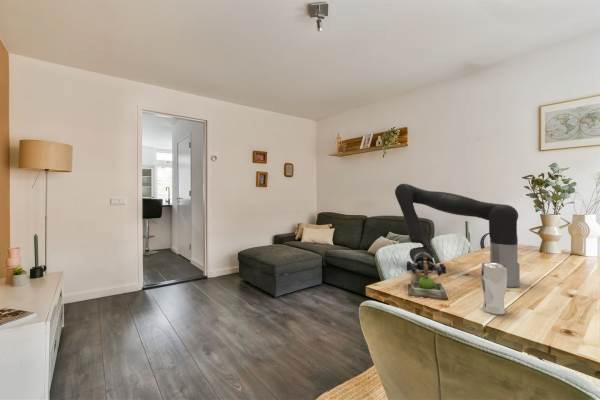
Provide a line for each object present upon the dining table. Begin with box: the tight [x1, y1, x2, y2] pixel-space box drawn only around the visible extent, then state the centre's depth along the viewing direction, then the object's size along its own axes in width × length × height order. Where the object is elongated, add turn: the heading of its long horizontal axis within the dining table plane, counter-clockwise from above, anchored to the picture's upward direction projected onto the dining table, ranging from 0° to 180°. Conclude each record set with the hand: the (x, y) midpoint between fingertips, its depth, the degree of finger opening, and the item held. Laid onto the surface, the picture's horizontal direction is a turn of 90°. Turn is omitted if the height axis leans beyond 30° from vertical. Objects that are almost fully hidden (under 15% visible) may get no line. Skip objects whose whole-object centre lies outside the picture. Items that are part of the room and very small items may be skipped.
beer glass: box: [480, 262, 508, 316], centre depth 89 cm, size 7×7×15 cm
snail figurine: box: [418, 258, 435, 290], centre depth 106 cm, size 5×6×12 cm
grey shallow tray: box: [407, 280, 449, 301], centre depth 106 cm, size 13×12×3 cm
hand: (426, 272), depth 104 cm, fingers open, 8 cm apart
